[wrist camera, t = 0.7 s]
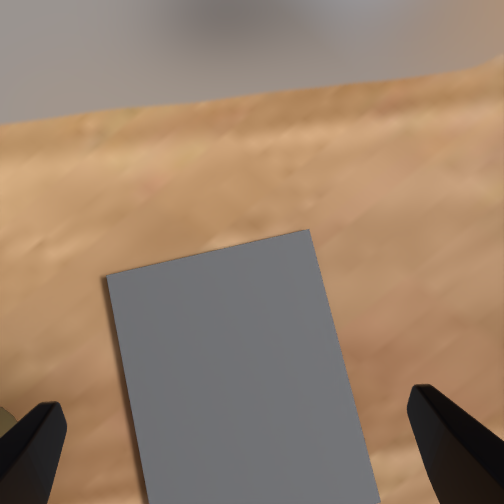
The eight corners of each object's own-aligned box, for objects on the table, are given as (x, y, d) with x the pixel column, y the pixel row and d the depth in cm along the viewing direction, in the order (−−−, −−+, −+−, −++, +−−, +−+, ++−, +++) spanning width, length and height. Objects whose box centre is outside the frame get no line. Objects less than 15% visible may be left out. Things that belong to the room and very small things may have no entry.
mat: (377, 498, 24) (380, 502, 23) (162, 560, 23) (160, 566, 22) (307, 230, 26) (309, 229, 26) (108, 275, 25) (106, 275, 24)
